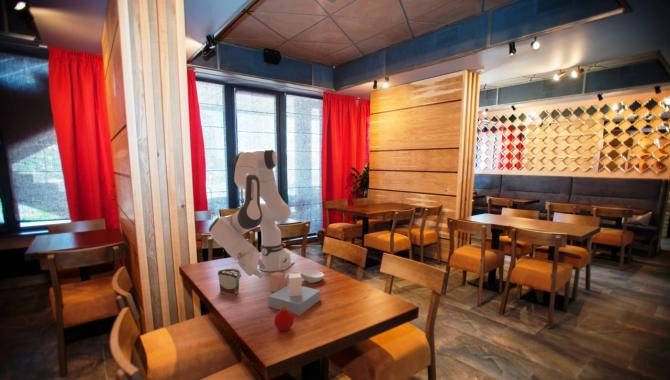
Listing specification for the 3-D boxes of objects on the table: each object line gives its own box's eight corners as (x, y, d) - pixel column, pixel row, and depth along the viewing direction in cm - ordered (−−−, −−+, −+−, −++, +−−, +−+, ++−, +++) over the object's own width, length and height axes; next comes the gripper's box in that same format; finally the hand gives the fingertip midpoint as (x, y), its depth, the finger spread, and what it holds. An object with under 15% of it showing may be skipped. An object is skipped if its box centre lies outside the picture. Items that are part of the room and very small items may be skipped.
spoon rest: (317, 275, 165) (317, 262, 164) (328, 282, 155) (328, 268, 154) (276, 284, 152) (276, 270, 151) (286, 292, 142) (286, 277, 141)
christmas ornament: (273, 325, 112) (273, 299, 111) (292, 323, 114) (292, 298, 113) (274, 335, 105) (274, 308, 104) (294, 333, 107) (294, 306, 106)
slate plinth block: (291, 293, 141) (291, 283, 141) (320, 301, 134) (320, 290, 133) (268, 307, 127) (268, 296, 127) (299, 316, 120) (299, 304, 119)
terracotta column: (277, 287, 147) (277, 271, 146) (285, 289, 144) (284, 273, 144) (270, 290, 143) (270, 274, 142) (277, 293, 140) (277, 276, 140)
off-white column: (288, 291, 132) (288, 273, 131) (300, 290, 133) (300, 273, 132) (289, 296, 127) (289, 278, 126) (301, 295, 128) (301, 277, 127)
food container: (247, 291, 142) (246, 270, 141) (237, 296, 137) (237, 275, 136) (227, 286, 147) (227, 266, 146) (217, 291, 142) (217, 270, 141)
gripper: (242, 253, 115) (267, 277, 118) (249, 238, 135) (270, 259, 138) (230, 264, 115) (255, 288, 117) (238, 247, 135) (260, 268, 137)
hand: (263, 272), depth 128 cm, fingers open, 8 cm apart
